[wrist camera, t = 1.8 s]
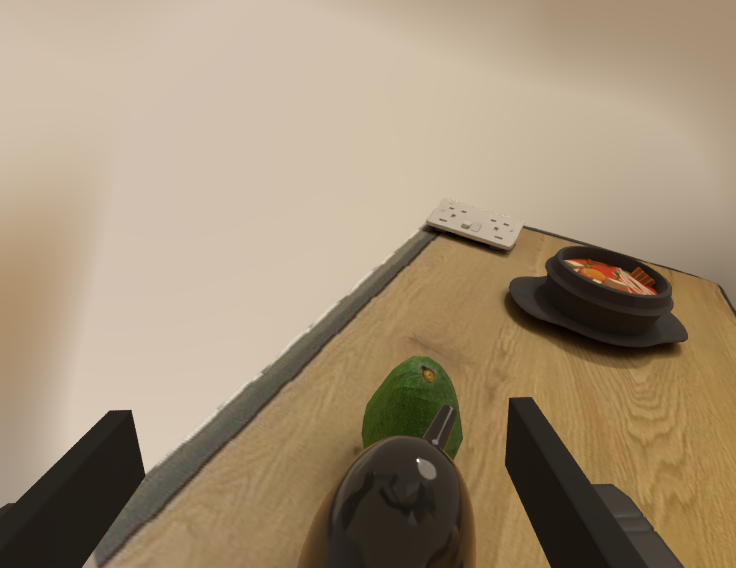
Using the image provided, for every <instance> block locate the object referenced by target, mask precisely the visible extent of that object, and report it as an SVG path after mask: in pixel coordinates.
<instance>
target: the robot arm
mask: <svg viewBox="0 0 736 568" xmlns="http://www.w3.org/2000/svg"><path fill="white" fill-rule="evenodd" d="M505 466H506V468H507V471H508V473H509V475H510V477H511V480H512V482H513V484H514V486H515V488H516V491H517V493H518V495H519V497H520V500H521V502H522V504H523V506H524V508H525V511H526V513H527V515H528V517H529V520H530V522H531V524H532V526H533V529H534V531H535V533H536V535H537V537H538V540H539V542H540V544H541V546H542V549H543V551H544V553H545V555H546V557H547V560H548V562H549V564H550V566H551V568H684V567H683V565H682V564H681V563H680V561H679V560H678V559H677V557H676V556H675V555H674V554H673V552H672V551H671V550H670V548H669V547H668V546H667V545H666V543H665V542H664V541H663V539H662V538H661V537H660V536H659V534H658V533H657V532H656V531H654V528H653V526H652V525H651V524H650V523H649V521H648V520H647V519H646V517H643V514H642V512H641V511H640V510H639V508H638V507H637V506H636V505H635V503H634V502H633V501H632V499H631V498H630V497H629V496H627V495H626V494H625V493H623V492H622V491H621V490H619V489H618V488H617V487H615V486H614V485H613V484H591V483H590V482H589V480H588V479H587V477H586V476H585V474H584V473H583V471H582V470H581V468H580V467H579V466H578V464H577V463H576V461H575V460H574V458H573V457H572V455H571V454H570V452H569V451H568V450H567V448H566V447H565V445H564V444H563V442H562V441H561V439H560V438H559V436H558V435H557V434H556V432H555V431H554V429H553V428H552V426H551V425H550V423H549V422H548V420H547V419H546V418H545V416H544V415H543V413H542V412H541V410H540V409H539V407H538V406H537V404H536V403H535V402H534V400H533V399H532V397H519V398H509V410H508V425H507V441H506V457H505ZM144 478H145V471H144V467H143V462H142V457H141V452H140V448H139V443H138V439H137V434H136V429H135V424H134V420H133V415H132V411H131V410H118V411H117V410H115V411H109V412H108V413H107V414H106V415H105V416H104V417H102V418H101V420H99V421H98V422H97V423H96V424H95V425H94V427H92V428H91V429H90V430H89V431H88V432H87V433H86V434H85V435H84V436H83V437H82V438H81V439H80V440H79V441H78V442H77V443H76V444H75V445H74V446H73V447H72V448H71V449H70V450H69V451H68V452H67V453H66V454H65V455H64V456H63V457H62V458H61V459H60V460H59V461H58V462H57V463H56V464H55V465H54V466H53V467H51V468H50V469H49V471H47V473H45V474H44V476H42V477H41V478H40V479H39V480H38V481H37V482H36V483H35V484H34V485H33V486H32V487H31V488H30V489H29V490H28V491H27V492H26V493H25V494H24V495H23V496H22V497H21V498H20V499H19V500H18V501H17V502H16V503H9V504H6V505H5V506H3V507H2V508H0V568H82V567H83V565H84V564H85V562H86V561H87V559H88V558H89V557H90V555H91V554H92V552H93V551H94V549H95V548H96V546H97V545H98V544H99V542H100V541H101V539H102V538H103V536H104V535H105V534H106V532H107V531H108V529H109V528H110V526H111V525H112V524H113V522H114V521H115V519H116V518H117V516H118V515H119V513H120V512H121V511H122V509H123V508H124V506H125V505H126V503H127V502H128V501H129V499H130V498H131V496H132V495H133V493H134V492H135V491H136V489H137V488H138V486H139V485H140V483H141V482H142V481H143V479H144Z"/></svg>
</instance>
